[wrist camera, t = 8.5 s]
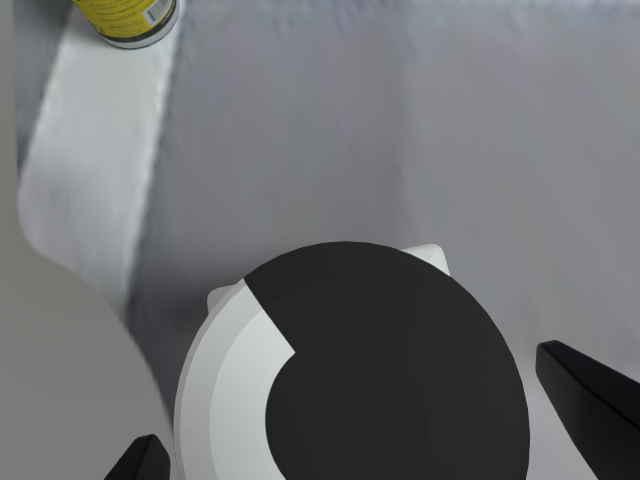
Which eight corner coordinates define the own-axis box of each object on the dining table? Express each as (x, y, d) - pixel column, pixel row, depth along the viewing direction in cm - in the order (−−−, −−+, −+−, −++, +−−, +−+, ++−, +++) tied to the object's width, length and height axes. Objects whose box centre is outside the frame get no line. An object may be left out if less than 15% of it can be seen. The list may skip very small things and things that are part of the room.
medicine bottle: (409, 280, 19) (501, 162, 7) (453, 451, 17) (678, 660, 5) (255, 312, 19) (107, 246, 7) (282, 485, 17) (135, 762, 5)
